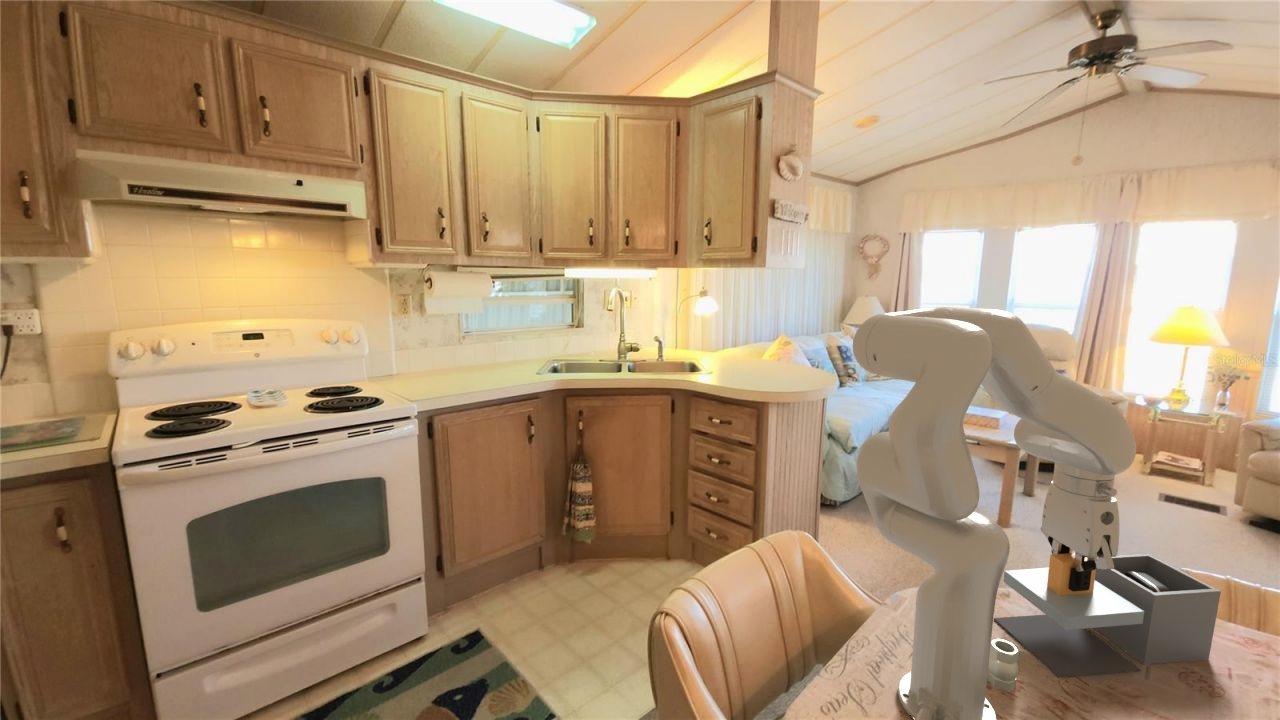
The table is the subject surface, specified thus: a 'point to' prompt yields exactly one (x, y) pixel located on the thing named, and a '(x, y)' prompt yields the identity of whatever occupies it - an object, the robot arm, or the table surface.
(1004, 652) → the valve
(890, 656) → the table surface
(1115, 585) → the tub
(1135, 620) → the lid
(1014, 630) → the mat
